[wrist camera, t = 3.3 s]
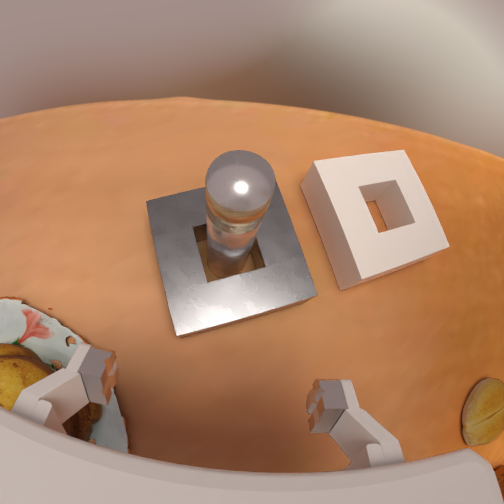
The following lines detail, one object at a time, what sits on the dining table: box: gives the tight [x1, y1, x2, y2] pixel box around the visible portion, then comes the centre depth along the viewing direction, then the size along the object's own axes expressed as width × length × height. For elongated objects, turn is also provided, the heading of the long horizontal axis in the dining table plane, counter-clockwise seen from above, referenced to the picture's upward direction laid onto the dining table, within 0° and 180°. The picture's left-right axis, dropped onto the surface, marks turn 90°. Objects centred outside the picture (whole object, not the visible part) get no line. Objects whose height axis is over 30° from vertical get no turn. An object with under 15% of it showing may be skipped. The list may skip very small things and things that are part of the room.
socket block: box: [146, 180, 317, 338], centre depth 28 cm, size 12×12×4 cm
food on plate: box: [0, 297, 131, 453], centre depth 19 cm, size 25×25×7 cm
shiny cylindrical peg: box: [206, 150, 275, 279], centre depth 23 cm, size 4×4×15 cm
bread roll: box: [462, 378, 504, 446], centre depth 26 cm, size 8×9×4 cm
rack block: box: [300, 150, 450, 291], centre depth 31 cm, size 12×12×5 cm
